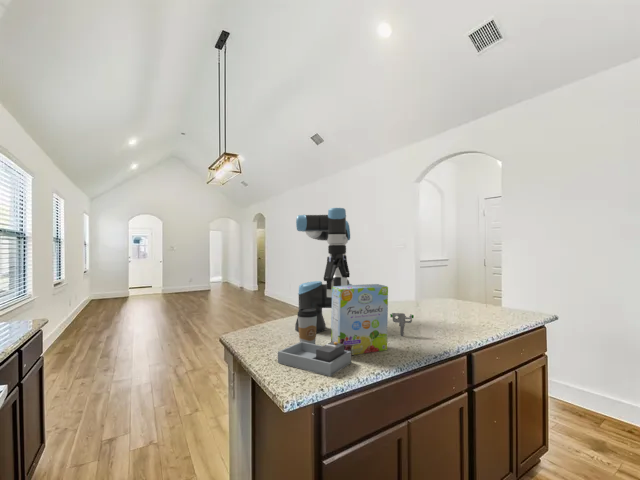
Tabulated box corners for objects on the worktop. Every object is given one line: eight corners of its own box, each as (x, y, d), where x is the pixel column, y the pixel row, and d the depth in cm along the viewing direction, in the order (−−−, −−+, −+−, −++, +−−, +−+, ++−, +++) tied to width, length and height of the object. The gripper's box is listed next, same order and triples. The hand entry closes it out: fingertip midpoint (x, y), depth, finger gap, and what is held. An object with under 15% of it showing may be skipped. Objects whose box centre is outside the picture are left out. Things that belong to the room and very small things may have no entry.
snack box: (340, 358, 119) (339, 288, 119) (330, 351, 127) (329, 285, 127) (389, 350, 127) (388, 285, 128) (376, 344, 135) (376, 282, 136)
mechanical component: (413, 337, 145) (413, 315, 145) (390, 336, 147) (390, 314, 147) (413, 335, 148) (413, 313, 148) (390, 334, 150) (390, 312, 150)
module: (316, 367, 108) (316, 347, 108) (331, 358, 117) (331, 340, 117) (329, 370, 105) (329, 350, 106) (344, 361, 114) (344, 342, 114)
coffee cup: (302, 350, 128) (302, 312, 128) (294, 344, 135) (294, 308, 136) (321, 347, 132) (320, 310, 132) (312, 341, 139) (311, 307, 139)
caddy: (277, 362, 115) (277, 351, 115) (301, 351, 127) (301, 341, 127) (330, 376, 103) (330, 363, 103) (351, 362, 115) (350, 351, 115)
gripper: (331, 245, 124) (332, 300, 124) (356, 244, 146) (357, 291, 146) (314, 245, 128) (315, 298, 128) (341, 244, 149) (341, 289, 149)
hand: (337, 294), depth 137 cm, fingers open, 13 cm apart
